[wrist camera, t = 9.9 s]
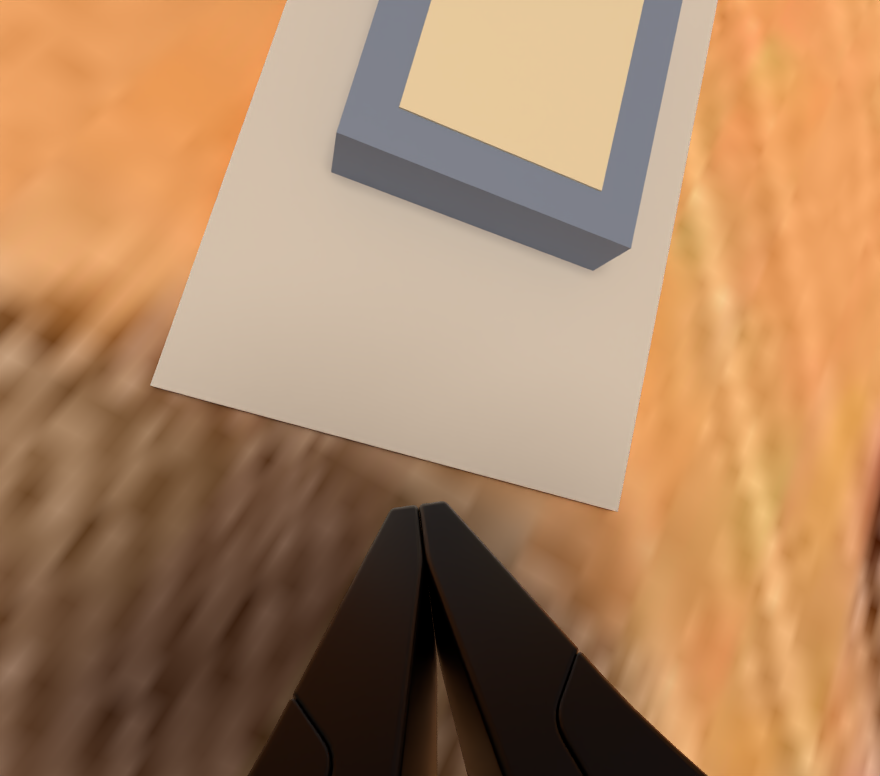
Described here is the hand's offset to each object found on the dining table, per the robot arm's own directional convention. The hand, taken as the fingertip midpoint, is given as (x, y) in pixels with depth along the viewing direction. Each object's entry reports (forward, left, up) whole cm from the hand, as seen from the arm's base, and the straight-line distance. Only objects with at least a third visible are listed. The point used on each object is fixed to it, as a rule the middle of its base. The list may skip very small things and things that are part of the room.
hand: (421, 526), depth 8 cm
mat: (+12, -7, -10) cm, 17 cm away
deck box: (+8, -5, -8) cm, 13 cm away
